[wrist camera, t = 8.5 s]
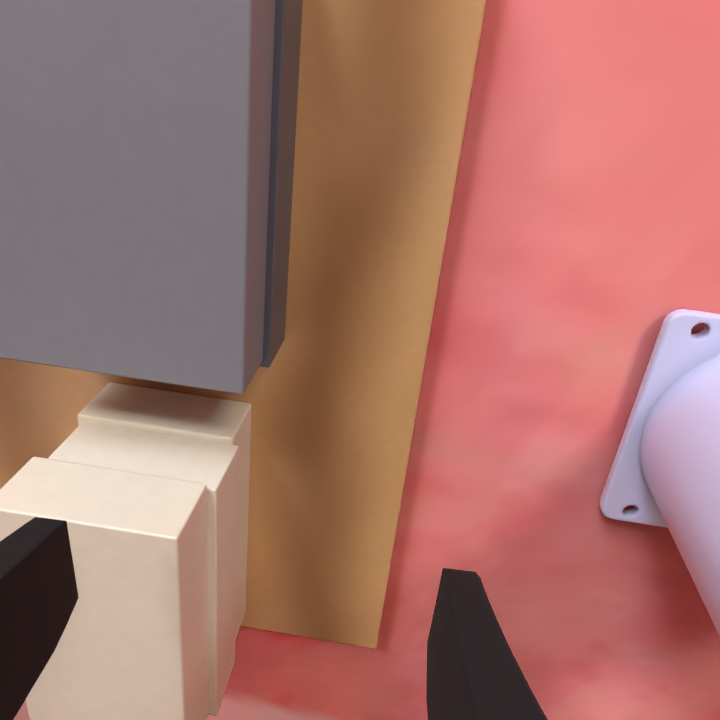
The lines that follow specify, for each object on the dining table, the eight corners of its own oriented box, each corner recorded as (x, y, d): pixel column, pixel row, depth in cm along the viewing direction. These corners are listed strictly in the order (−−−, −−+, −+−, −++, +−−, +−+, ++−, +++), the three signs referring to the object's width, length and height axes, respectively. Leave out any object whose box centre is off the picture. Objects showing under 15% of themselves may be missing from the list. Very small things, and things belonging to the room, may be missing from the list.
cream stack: (258, 403, 21) (216, 484, 17) (251, 615, 26) (216, 716, 22) (108, 380, 21) (34, 455, 17) (128, 594, 26) (73, 690, 22)
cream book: (207, 483, 17) (177, 538, 15) (210, 711, 22) (186, 777, 20) (33, 455, 17) (-19, 506, 15) (71, 687, 22) (35, 749, 20)
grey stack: (308, -86, 15) (265, -129, 11) (285, 340, 20) (250, 403, 16) (16, -117, 15) (-114, -167, 12) (67, 308, 20) (-12, 363, 17)
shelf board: (496, -73, 15) (500, -82, 14) (378, 626, 27) (376, 650, 26) (-115, -136, 16) (-154, -149, 15) (21, 565, 28) (5, 586, 27)
